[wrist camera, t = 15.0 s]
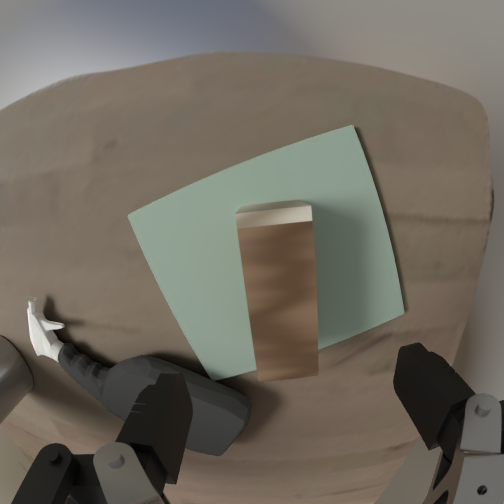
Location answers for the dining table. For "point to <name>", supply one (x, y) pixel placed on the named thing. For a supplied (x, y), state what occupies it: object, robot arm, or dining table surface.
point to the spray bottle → (139, 377)
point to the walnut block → (280, 287)
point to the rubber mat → (229, 259)
